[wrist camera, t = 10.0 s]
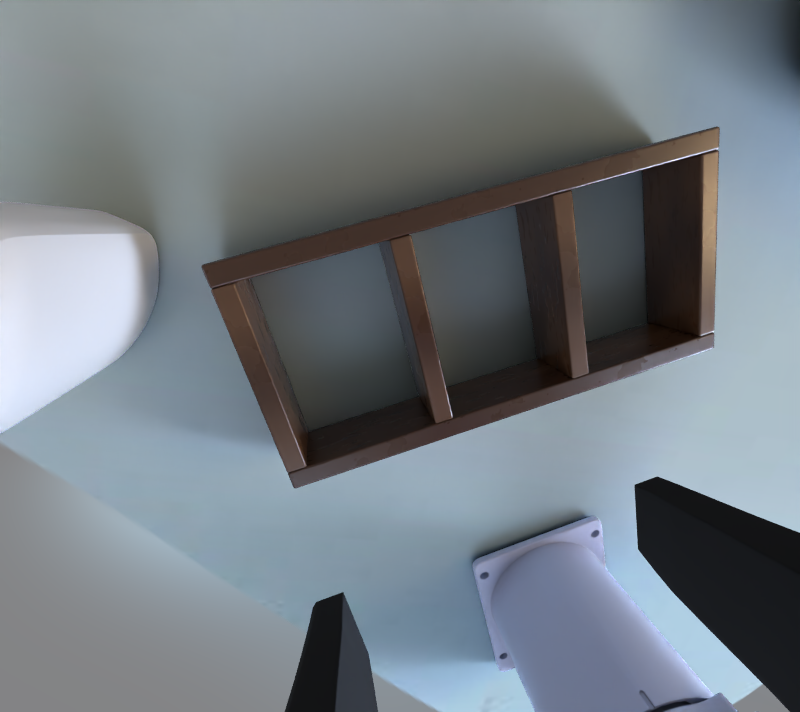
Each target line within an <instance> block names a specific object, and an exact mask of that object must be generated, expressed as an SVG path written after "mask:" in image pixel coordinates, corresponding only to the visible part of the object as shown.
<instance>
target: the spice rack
mask: <svg viewBox="0 0 800 712" xmlns="http://www.w3.org/2000/svg"><path fill="white" fill-rule="evenodd" d="M719 130H720V128H719V127H713V128H710V129H706V130H702V131H698V132H694V133H690V134H687V135H683V136H679V137H675V138H671V139H667V140H664V141H660V142H656V143H652V144H648V145H645V146H641V147H637V148H634V149H630V150H626V151H622V152H619V153H615V154H611V155H607V156H604V157H600V158H596V159H593V160H589V161H585V162H581V163H578V164H574V165H570V166H567V167H563V168H559V169H555V170H552V171H548V172H544V173H540V174H537V175H533V176H529V177H526V178H522V179H518V180H514V181H511V182H507V183H503V184H499V185H496V186H492V187H488V188H485V189H481V190H477V191H473V192H470V193H466V194H462V195H459V196H455V197H451V198H447V199H444V200H440V201H436V202H432V203H429V204H425V205H421V206H418V207H414V208H410V209H406V210H403V211H399V212H395V213H391V214H388V215H384V216H380V217H377V218H373V219H369V220H365V221H362V222H358V223H354V224H351V225H347V226H343V227H339V228H336V229H332V230H328V231H324V232H321V233H317V234H313V235H310V236H306V237H302V238H298V239H295V240H291V241H287V242H283V243H280V244H276V245H272V246H269V247H265V248H261V249H257V250H254V251H250V252H246V253H243V254H239V255H235V256H231V257H228V258H224V259H220V260H217V261H214V262H210V263H207V264H204V265H202V270H203V272H204V275H205V277H206V279H207V282H208V284H209V286H210V288H213V289H212V290H211V292H212V294H213V296H214V299H215V301H216V304H217V306H218V308H219V311H220V313H221V315H222V318H223V320H224V323H225V325H226V327H227V330H228V332H229V335H230V337H231V339H232V342H233V344H234V346H235V349H236V351H237V354H238V356H239V358H240V361H241V363H242V366H243V368H244V370H245V373H246V375H247V378H248V380H249V382H250V385H251V387H252V389H253V392H254V394H255V397H256V399H257V401H258V404H259V406H260V409H261V411H262V413H263V416H264V418H265V420H266V423H267V425H268V428H269V430H270V432H271V435H272V437H273V440H274V442H275V444H276V447H277V449H278V451H279V454H280V456H281V459H282V461H283V463H284V466H285V468H286V471H287V472H288V475H289V478H290V480H291V482H292V485H293V487H294V488H298V487H301V486H304V485H307V484H310V483H313V482H316V481H319V480H322V479H325V478H328V477H331V476H334V475H337V474H340V473H343V472H346V471H349V470H352V469H355V468H358V467H361V466H364V465H367V464H370V463H373V462H376V461H379V460H382V459H385V458H388V457H391V456H394V455H397V454H400V453H403V452H406V451H409V450H412V449H415V448H418V447H421V446H424V445H427V444H430V443H433V442H435V441H438V440H441V439H444V438H447V437H450V436H453V435H456V434H459V433H462V432H465V431H468V430H471V429H474V428H477V427H480V426H483V425H486V424H489V423H492V422H495V421H498V420H501V419H504V418H507V417H510V416H513V415H516V414H519V413H522V412H525V411H528V410H531V409H534V408H537V407H540V406H543V405H546V404H549V403H552V402H555V401H558V400H561V399H564V398H567V397H570V396H573V395H576V394H579V393H582V392H585V391H588V390H591V389H594V388H597V387H600V386H602V385H605V384H608V383H611V382H614V381H617V380H620V379H623V378H626V377H629V376H632V375H635V374H638V373H641V372H644V371H647V370H650V369H653V368H656V367H659V366H662V365H665V364H668V363H671V362H674V361H677V360H680V359H683V358H686V357H689V356H692V355H695V354H698V353H701V352H704V351H707V350H710V349H713V348H714V333H713V331H714V318H715V279H716V240H717V201H718V163H719V151H718V150H717V149H718V148H719ZM641 170H643V197H644V225H645V254H646V283H647V312H648V322H649V323H646V324H643V325H640V326H637V327H634V328H631V329H628V330H624V331H621V332H618V333H615V334H612V335H609V336H606V337H603V338H600V339H596V340H593V341H590V342H587V343H586V338H585V327H584V316H583V306H582V295H581V284H580V273H579V262H578V252H577V241H576V230H575V219H574V208H573V198H572V191H571V190H572V189H576V188H579V187H583V186H587V185H590V184H594V183H597V182H601V181H605V180H608V179H612V178H616V177H619V176H623V175H626V174H630V173H634V172H637V171H641ZM514 205H516V212H517V219H518V226H519V233H520V241H521V248H522V255H523V262H524V269H525V276H526V283H527V291H528V298H529V305H530V312H531V319H532V326H533V334H534V341H535V348H536V355H537V359H534V360H531V361H528V362H525V363H522V364H519V365H516V366H512V367H509V368H506V369H503V370H500V371H497V372H494V373H491V374H488V375H484V376H481V377H478V378H475V379H472V380H469V381H466V382H463V383H460V384H456V385H453V386H450V387H447V388H446V384H445V380H444V376H443V371H442V367H441V363H440V358H439V354H438V350H437V345H436V341H435V337H434V332H433V328H432V324H431V319H430V315H429V311H428V307H427V302H426V298H425V294H424V289H423V285H422V281H421V276H420V272H419V268H418V263H417V259H416V255H415V250H414V246H413V242H412V237H411V235H409V234H412V233H416V232H420V231H423V230H427V229H431V228H434V227H438V226H441V225H445V224H449V223H452V222H456V221H460V220H463V219H467V218H470V217H474V216H478V215H481V214H485V213H489V212H492V211H496V210H499V209H503V208H507V207H510V206H514ZM376 243H379V246H380V250H381V254H382V258H383V262H384V265H385V269H386V273H387V277H388V281H389V285H390V288H391V292H392V296H393V300H394V304H395V308H396V311H397V315H398V319H399V323H400V327H401V331H402V335H403V338H404V342H405V346H406V350H407V354H408V358H409V361H410V365H411V369H412V373H413V377H414V381H415V384H416V388H417V392H418V396H419V397H416V398H413V399H410V400H407V401H403V402H400V403H397V404H394V405H391V406H388V407H385V408H382V409H379V410H375V411H372V412H369V413H366V414H363V415H360V416H357V417H354V418H351V419H347V420H344V421H341V422H338V423H335V424H332V425H329V426H326V427H323V428H319V429H316V430H313V431H310V432H308V429H307V426H306V424H305V421H304V418H303V416H302V413H301V410H300V408H299V405H298V403H297V400H296V397H295V395H294V392H293V389H292V387H291V384H290V382H289V379H288V376H287V374H286V371H285V368H284V366H283V363H282V361H281V358H280V355H279V353H278V350H277V347H276V345H275V342H274V340H273V337H272V334H271V332H270V329H269V326H268V324H267V321H266V318H265V316H264V313H263V311H262V308H261V305H260V303H259V300H258V297H257V295H256V292H255V290H254V287H253V284H252V282H251V279H250V278H253V277H256V276H260V275H264V274H267V273H271V272H275V271H278V270H282V269H285V268H289V267H293V266H296V265H300V264H304V263H307V262H311V261H314V260H318V259H322V258H325V257H329V256H333V255H336V254H340V253H343V252H347V251H351V250H354V249H358V248H362V247H365V246H369V245H372V244H376Z"/></svg>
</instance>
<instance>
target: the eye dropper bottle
mask: <svg viewBox="0 0 800 712" xmlns="http://www.w3.org/2000/svg"><path fill="white" fill-rule="evenodd" d="M158 284H159V258H158V251H157V246H156V242H155V240H154V239H153V237H152V235H151V234H150V233H149V232H147V231H146V230H145V229H143V228H142V227H139V226H137V225H135V224H133V223H131V222H128V221H126V220H124V219H121V218H119V217H116V216H114V215H112V214H109V213H106V212H104V211H99V210H92V209H82V208H72V207H61V206H50V205H39V204H29V203H17V202H6V201H0V434H1V433H2V432H4V431H6V430H7V429H9V428H11V427H12V426H14V425H16V424H17V423H19V422H21V421H22V420H24V419H25V418H27V417H29V416H30V415H32V414H33V413H35V412H36V411H38V410H40V409H41V408H43V407H44V406H46V405H48V404H49V403H51V402H52V401H54V400H55V399H57V398H59V397H60V396H62V395H63V394H65V393H66V392H68V391H70V390H71V389H73V388H74V387H76V386H77V385H79V384H81V383H82V382H84V381H85V380H87V379H88V378H90V377H91V376H93V375H95V374H96V373H98V372H99V371H101V370H102V369H104V368H105V367H107V366H109V365H110V364H112V363H113V362H115V361H116V360H117V359H118V358H120V357H121V356H122V355H123V354H124V353H125V352H126V351H127V350H128V349H129V348H130V347H131V345H132V344H133V343H134V342H135V341H136V339H137V338H138V337H139V335H140V334H141V332H142V331H143V329H144V327H145V325H146V324H147V322H148V320H149V318H150V315H151V313H152V310H153V308H154V304H155V301H156V296H157V291H158Z"/></svg>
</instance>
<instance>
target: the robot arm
mask: <svg viewBox="0 0 800 712" xmlns="http://www.w3.org/2000/svg"><path fill="white" fill-rule="evenodd" d="M635 501H636V520H637V538H638V550H639V551H640V552H641V554H642V555H643V556H644V557H645V559H646V560H647V561H648V562H649V564H650V565H651V566H652V568H653V569H654V570H655V571H656V573H657V574H658V575H659V576H660V577H661V579H662V580H663V581H664V582H665V583H666V585H667V586H668V587H669V588H670V590H671V591H672V592H673V593H674V594H675V595H676V596H677V597H678V598H679V599H680V600H681V601H682V602H683V603H684V604H685V605H686V606H687V607H688V608H689V609H690V610H691V611H692V612H693V613H694V614H695V616H696V617H697V618H698V619H699V620H700V621H701V622H702V623H703V624H704V625H705V626H706V627H707V628H708V629H709V630H710V631H711V632H712V633H713V634H714V635H715V636H716V637H717V638H718V639H719V640H720V641H721V642H722V643H723V644H724V645H725V646H726V647H727V648H728V649H729V650H730V651H731V652H732V653H733V654H734V655H735V656H736V657H737V658H738V659H739V660H740V661H741V662H742V663H743V664H744V665H745V666H746V667H747V668H748V669H749V670H750V671H751V672H752V673H753V674H754V675H755V676H756V677H757V678H758V679H759V680H760V681H761V682H762V683H763V684H764V685H765V686H766V687H767V688H768V689H769V690H770V691H771V692H772V693H773V694H774V695H775V696H776V697H777V698H778V700H779V701H780V702H781V703H782V704H783V705H784V706H785V707H786V708H787V709H788V710H789V711H790V712H800V533H799V532H796V531H793V530H791V529H788V528H785V527H783V526H780V525H778V524H775V523H772V522H770V521H767V520H765V519H762V518H760V517H757V516H755V515H752V514H750V513H747V512H745V511H742V510H740V509H737V508H735V507H732V506H730V505H727V504H725V503H722V502H720V501H717V500H715V499H712V498H710V497H708V496H705V495H703V494H700V493H698V492H695V491H693V490H690V489H688V488H685V487H683V486H680V485H678V484H675V483H673V482H670V481H668V480H665V479H662V478H660V477H655V478H652V479H649V480H647V481H644V482H641V483H639V484H636V485H635ZM472 568H473V572H474V576H475V580H476V584H477V588H478V592H479V596H480V600H481V604H482V608H483V612H484V616H485V620H486V624H487V628H488V632H489V636H490V640H491V644H492V648H493V652H494V656H495V660H496V664H497V666H498V669H499V670H500V671H503V672H505V671H508V670H511V669H513V668H516V670H517V673H518V675H519V677H520V679H521V682H522V684H523V686H524V688H525V690H526V693H527V695H528V697H529V699H530V702H531V704H532V706H533V708H534V710H535V712H738V711H737V710H736V709H735V708H734V706H733V705H732V704H731V703H730V702H729V701H728V700H727V698H726V697H725V696H724V695H723V694H722V693H718V694H716V695H713V693H712V692H711V691H710V690H709V689H708V688H707V686H706V685H705V684H704V683H703V682H702V681H701V679H700V678H699V677H698V676H697V675H696V674H695V672H694V671H693V670H692V669H691V668H690V666H689V665H688V664H687V663H686V662H685V661H684V659H683V658H682V657H681V656H680V655H679V654H678V652H677V651H676V650H675V649H674V648H673V647H672V645H671V644H670V643H669V642H668V641H667V640H666V638H665V637H664V636H663V635H662V634H661V632H660V631H659V630H658V629H657V628H656V627H655V625H654V624H653V623H652V622H651V621H650V620H649V618H648V617H647V616H646V615H645V614H644V613H643V611H642V610H641V609H640V608H639V607H638V605H637V604H636V603H635V602H634V601H633V600H632V598H631V597H630V596H629V595H628V594H627V593H626V591H625V590H624V589H623V588H622V587H621V586H620V584H619V583H618V582H617V581H616V580H615V579H614V577H613V576H612V575H611V574H610V573H609V571H608V570H607V569H606V565H605V555H604V544H603V533H602V523H601V521H600V520H599V519H598V518H597V517H595V516H591V517H587V518H585V519H582V520H579V521H577V522H574V523H571V524H569V525H566V526H563V527H560V528H558V529H555V530H552V531H550V532H547V533H544V534H542V535H539V536H536V537H534V538H531V539H528V540H526V541H523V542H520V543H517V544H515V545H512V546H509V547H507V548H504V549H501V550H499V551H496V552H493V553H491V554H488V555H485V556H483V557H480V558H478V559H476V560H475V561H474V562H473V565H472ZM483 572H484V573H483ZM285 712H378V710H377V703H376V697H375V690H374V683H373V678H372V672H371V666H370V660H369V654H368V651H367V649H366V646H365V644H364V642H363V639H362V637H361V634H360V632H359V629H358V627H357V625H356V622H355V620H354V617H353V615H352V612H351V610H350V608H349V605H348V603H347V600H346V598H345V595H344V593H343V592H342V593H339V594H337V595H334V596H331V597H329V598H326V599H323V600H320V601H318V602H316V603H315V605H314V607H313V609H312V614H311V618H310V623H309V627H308V631H307V635H306V639H305V644H304V647H303V651H302V655H301V658H300V662H299V666H298V669H297V673H296V676H295V680H294V683H293V686H292V690H291V693H290V696H289V700H288V703H287V706H286V710H285ZM756 712H757V711H756Z"/></svg>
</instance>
